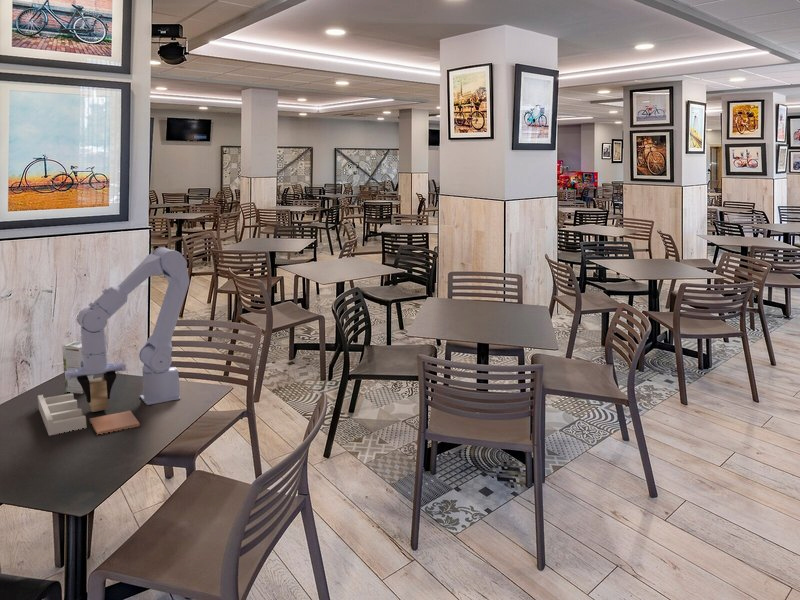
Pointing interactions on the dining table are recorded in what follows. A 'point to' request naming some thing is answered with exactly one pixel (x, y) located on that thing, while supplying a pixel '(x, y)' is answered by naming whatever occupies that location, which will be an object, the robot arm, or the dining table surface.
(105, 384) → the block
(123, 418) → the terracotta tile
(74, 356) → the white carton
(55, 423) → the slot rack
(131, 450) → the dining table surface
